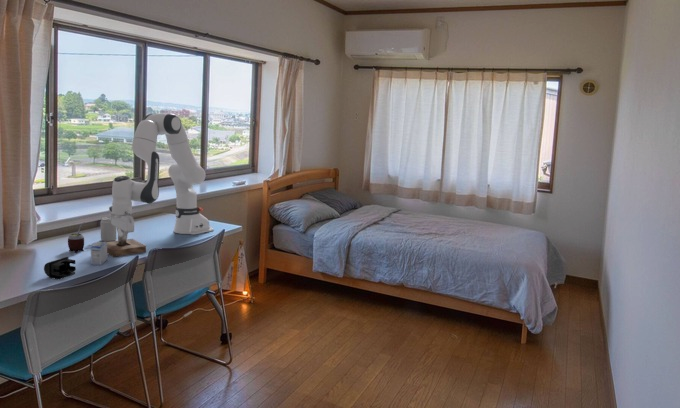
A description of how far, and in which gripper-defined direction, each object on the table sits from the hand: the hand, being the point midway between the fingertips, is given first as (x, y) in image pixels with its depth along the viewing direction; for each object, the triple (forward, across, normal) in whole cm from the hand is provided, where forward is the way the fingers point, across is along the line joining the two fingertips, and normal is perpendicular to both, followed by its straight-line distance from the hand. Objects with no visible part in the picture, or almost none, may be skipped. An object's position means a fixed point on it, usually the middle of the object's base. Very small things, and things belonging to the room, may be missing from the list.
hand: (122, 237), depth 259 cm
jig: (+6, 0, 0) cm, 7 cm away
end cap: (+7, -22, +35) cm, 42 cm away
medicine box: (+7, -13, +16) cm, 22 cm away
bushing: (+3, 0, 0) cm, 3 cm away
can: (+7, +21, -1) cm, 22 cm away
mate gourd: (+7, +10, +18) cm, 21 cm away
